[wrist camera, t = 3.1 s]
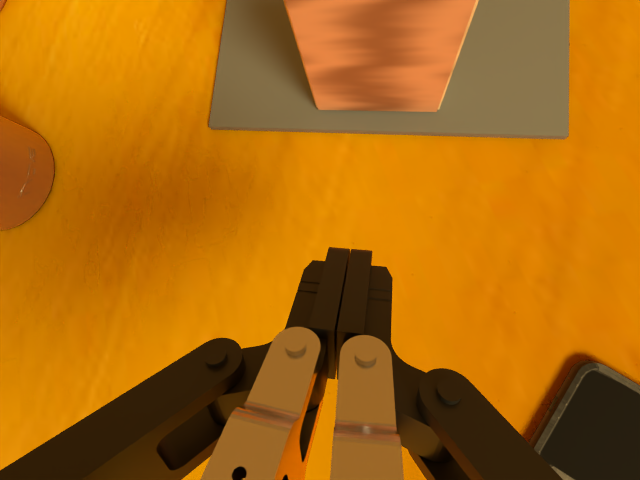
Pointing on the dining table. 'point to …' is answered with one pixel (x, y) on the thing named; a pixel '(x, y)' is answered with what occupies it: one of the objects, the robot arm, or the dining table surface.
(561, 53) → the mat
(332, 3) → the tan wooden block
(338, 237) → the dining table surface
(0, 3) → the donut
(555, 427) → the phone
